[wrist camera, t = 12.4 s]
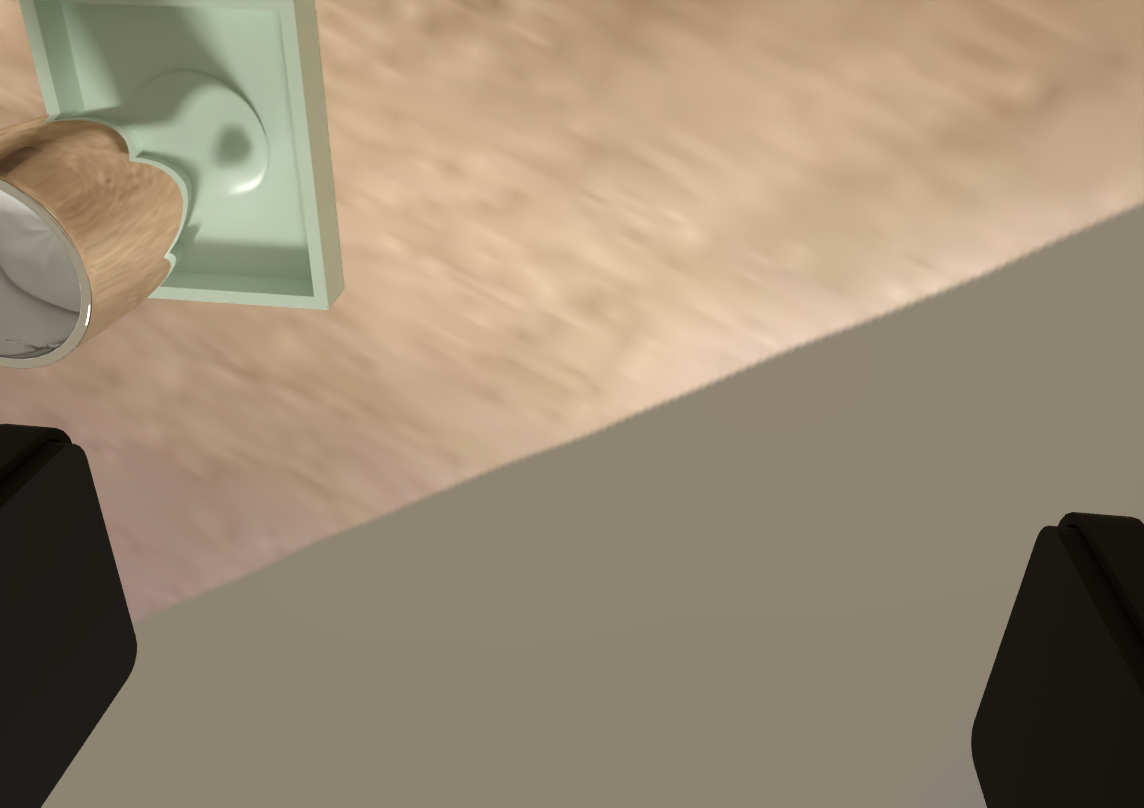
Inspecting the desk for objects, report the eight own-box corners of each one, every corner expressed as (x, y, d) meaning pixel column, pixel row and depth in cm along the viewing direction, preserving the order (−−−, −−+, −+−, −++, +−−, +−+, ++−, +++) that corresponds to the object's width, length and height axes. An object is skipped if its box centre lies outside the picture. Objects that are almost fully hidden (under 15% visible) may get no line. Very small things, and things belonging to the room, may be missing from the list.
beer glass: (103, 165, 43) (-148, 303, 30) (151, 25, 40) (-108, 112, 27) (246, 247, 44) (63, 412, 31) (303, 117, 41) (125, 243, 28)
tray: (48, -24, 40) (14, -17, 38) (312, -14, 39) (292, -6, 37) (117, 274, 46) (91, 294, 44) (344, 289, 45) (328, 309, 43)
